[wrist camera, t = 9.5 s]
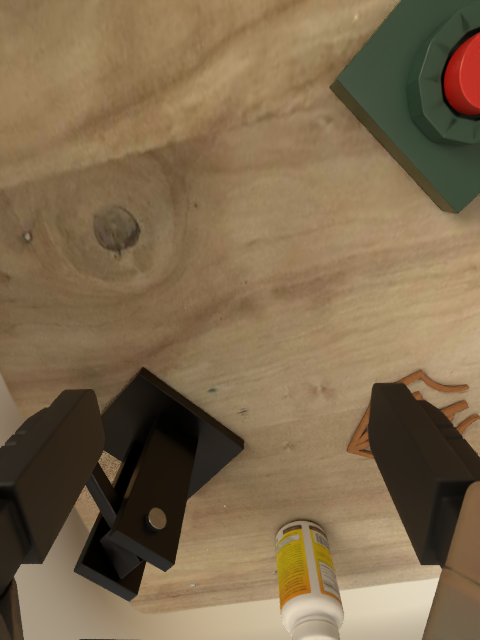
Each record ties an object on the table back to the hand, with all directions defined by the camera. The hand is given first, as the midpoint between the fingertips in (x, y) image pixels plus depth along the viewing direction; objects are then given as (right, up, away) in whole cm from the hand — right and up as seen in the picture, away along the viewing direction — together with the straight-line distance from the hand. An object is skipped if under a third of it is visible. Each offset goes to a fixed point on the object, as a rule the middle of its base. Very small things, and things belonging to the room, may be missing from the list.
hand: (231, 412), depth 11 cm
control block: (+14, +18, +13) cm, 26 cm away
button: (+14, +17, +10) cm, 24 cm away
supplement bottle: (+7, -21, +29) cm, 36 cm away
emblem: (+16, -7, +23) cm, 29 cm away
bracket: (-7, -8, +24) cm, 27 cm away
